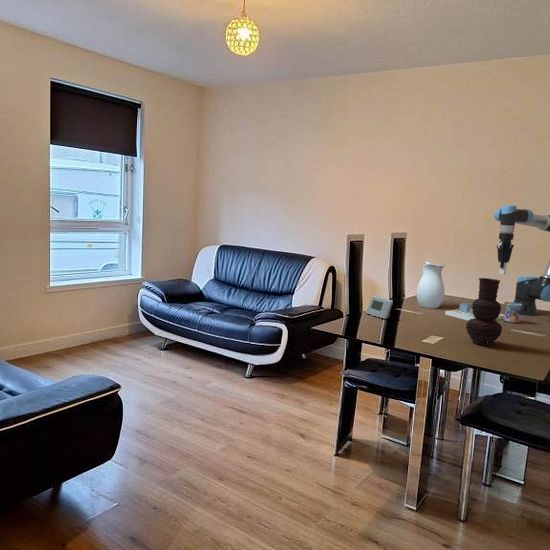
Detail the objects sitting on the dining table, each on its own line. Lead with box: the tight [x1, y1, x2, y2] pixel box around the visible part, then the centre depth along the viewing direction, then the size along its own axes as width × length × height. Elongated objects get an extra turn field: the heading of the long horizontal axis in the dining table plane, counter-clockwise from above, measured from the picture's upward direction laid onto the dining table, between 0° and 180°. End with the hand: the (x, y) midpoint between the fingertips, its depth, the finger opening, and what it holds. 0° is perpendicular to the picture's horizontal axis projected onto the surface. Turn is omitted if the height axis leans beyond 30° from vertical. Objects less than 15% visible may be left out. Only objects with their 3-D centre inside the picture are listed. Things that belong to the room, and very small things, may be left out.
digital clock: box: [365, 295, 394, 320], centre depth 271 cm, size 16×9×11 cm, turn 20°
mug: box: [502, 301, 522, 324], centre depth 280 cm, size 12×9×11 cm
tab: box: [458, 302, 472, 312], centre depth 291 cm, size 4×5×5 cm
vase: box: [465, 277, 503, 346], centre depth 225 cm, size 15×15×30 cm
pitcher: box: [415, 261, 446, 309], centre depth 313 cm, size 24×17×28 cm
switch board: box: [444, 307, 505, 322], centre depth 289 cm, size 30×20×3 cm, turn 122°
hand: (502, 273), depth 283 cm, fingers closed
